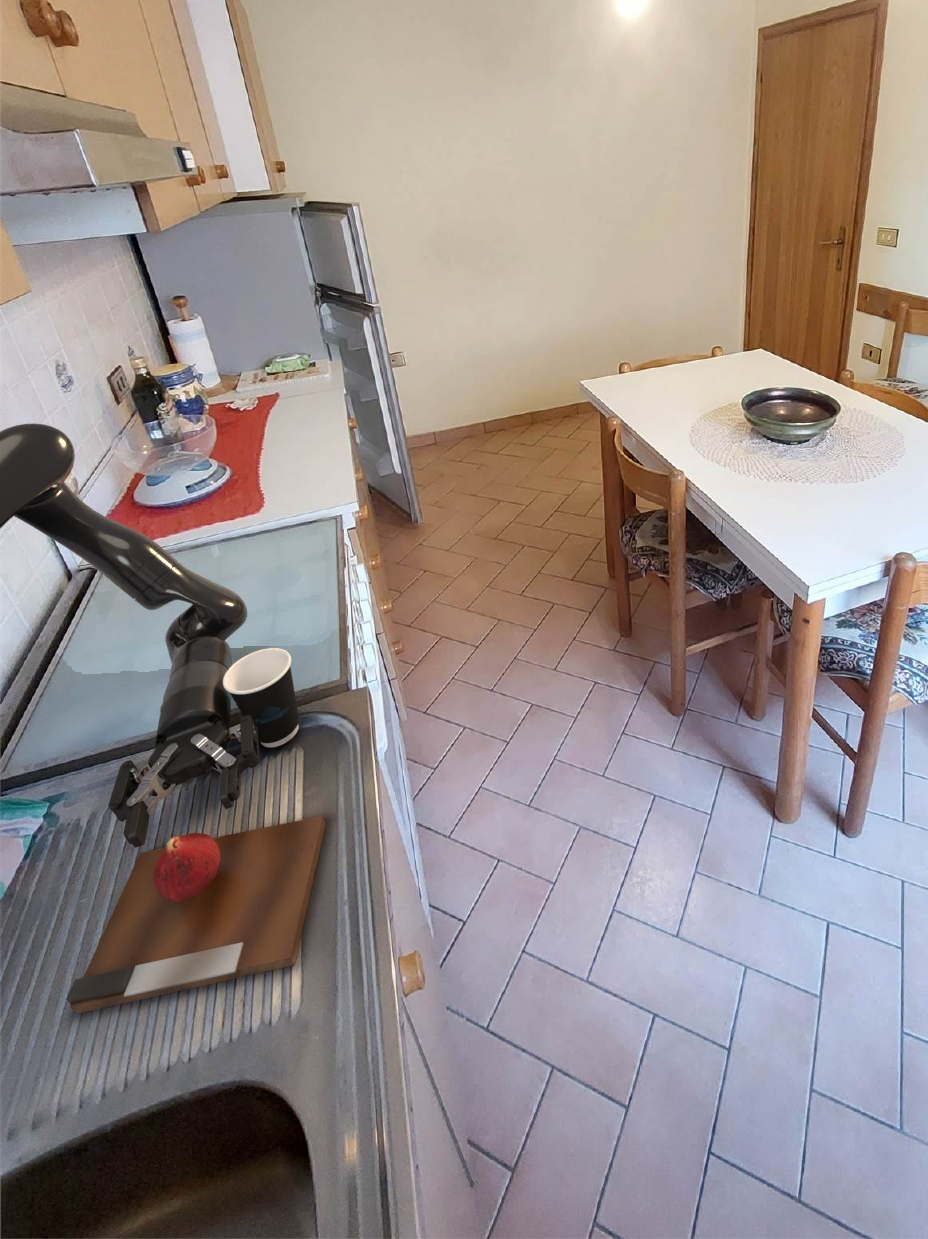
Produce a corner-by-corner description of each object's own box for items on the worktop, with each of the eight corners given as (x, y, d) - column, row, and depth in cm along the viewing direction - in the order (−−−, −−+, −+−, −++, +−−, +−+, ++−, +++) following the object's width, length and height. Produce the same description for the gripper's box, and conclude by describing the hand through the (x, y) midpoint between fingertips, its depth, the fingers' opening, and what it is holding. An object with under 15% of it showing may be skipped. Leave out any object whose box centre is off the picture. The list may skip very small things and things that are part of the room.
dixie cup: (276, 765, 80) (252, 699, 76) (233, 747, 84) (207, 683, 79) (323, 718, 87) (304, 655, 83) (282, 703, 90) (261, 641, 86)
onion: (234, 892, 67) (204, 849, 63) (172, 929, 64) (137, 887, 60) (227, 846, 71) (199, 803, 67) (169, 879, 69) (137, 837, 65)
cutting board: (75, 1017, 60) (62, 1005, 59) (145, 860, 72) (136, 847, 71) (294, 968, 62) (286, 955, 61) (326, 823, 74) (319, 810, 73)
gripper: (267, 704, 84) (267, 812, 71) (145, 751, 79) (120, 876, 66) (247, 664, 80) (242, 770, 67) (118, 710, 76) (85, 834, 63)
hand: (181, 822), depth 67 cm, fingers open, 8 cm apart
